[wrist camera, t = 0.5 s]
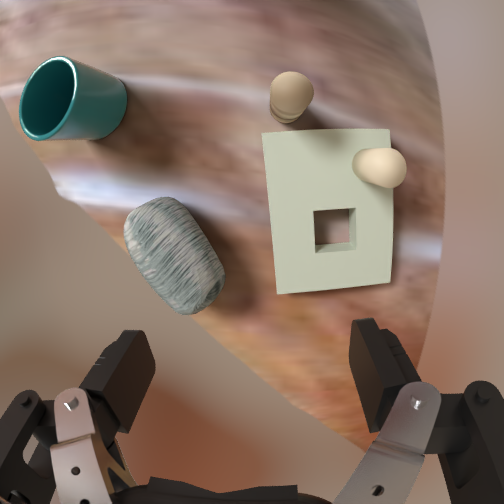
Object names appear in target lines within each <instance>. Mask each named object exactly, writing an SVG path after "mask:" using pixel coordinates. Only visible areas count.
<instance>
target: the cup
mask: <svg viewBox="0 0 504 504" xmlns="http://www.w3.org/2000/svg"><path fill="white" fill-rule="evenodd" d="M126 106H127V93H126V89H125V87H124V85H123V83H122V82H121V81H120V80H119V79H118V78H117V77H115V76H113V75H111V74H108V73H106V72H104V71H101V70H99V69H96V68H94V67H91V66H89V65H86V64H84V63H81V62H79V61H76V60H74V59H71V58H68V57H65V56H56V57H52V58H50V59H48V60H46V61H45V62H43V63H42V64H41V65H40V66H39V67H38V68H37V69H36V70H35V71H34V72H33V73H32V75H31V76H30V78H29V79H28V81H27V83H26V85H25V87H24V90H23V92H22V96H21V99H20V105H19V119H20V124H21V127H22V129H23V131H24V133H25V134H26V135H27V136H28V137H29V138H31V139H32V140H36V141H53V140H98V139H102V138H104V137H106V136H107V135H109V134H110V133H112V132H113V131H114V130H115V129H116V128H117V126H118V125H119V124H120V122H121V120H122V118H123V116H124V114H125V111H126Z"/></svg>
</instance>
